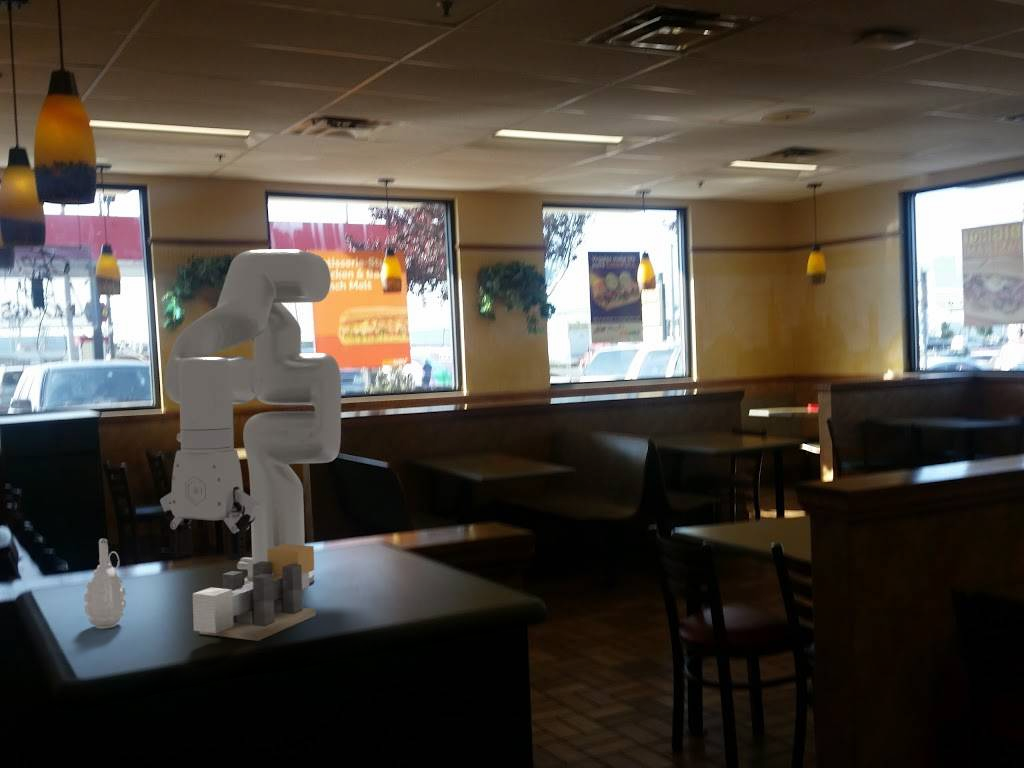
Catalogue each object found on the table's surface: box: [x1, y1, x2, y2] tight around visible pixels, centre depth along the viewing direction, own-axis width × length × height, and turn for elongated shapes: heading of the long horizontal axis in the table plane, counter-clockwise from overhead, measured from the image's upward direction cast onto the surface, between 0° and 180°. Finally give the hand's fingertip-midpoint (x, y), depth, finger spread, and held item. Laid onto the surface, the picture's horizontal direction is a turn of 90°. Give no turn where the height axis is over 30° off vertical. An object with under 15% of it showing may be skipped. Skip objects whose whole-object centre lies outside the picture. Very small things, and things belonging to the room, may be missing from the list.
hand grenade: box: [83, 538, 127, 630], centre depth 164 cm, size 8×6×14 cm
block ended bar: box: [192, 572, 310, 633], centre depth 164 cm, size 4×24×6 cm, turn 156°
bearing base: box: [199, 561, 317, 642], centre depth 164 cm, size 11×15×8 cm
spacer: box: [267, 544, 315, 574], centre depth 172 cm, size 6×4×4 cm
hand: (210, 556), depth 153 cm, fingers open, 9 cm apart
